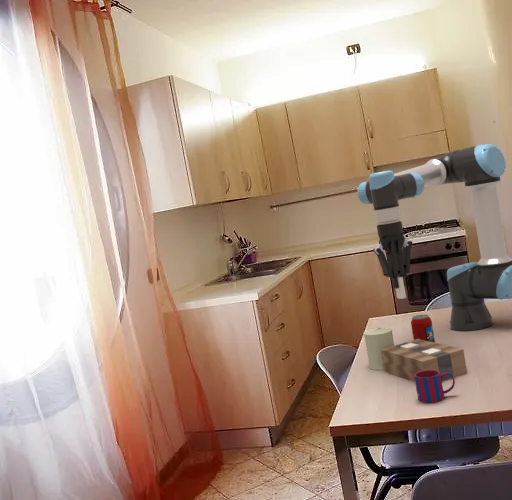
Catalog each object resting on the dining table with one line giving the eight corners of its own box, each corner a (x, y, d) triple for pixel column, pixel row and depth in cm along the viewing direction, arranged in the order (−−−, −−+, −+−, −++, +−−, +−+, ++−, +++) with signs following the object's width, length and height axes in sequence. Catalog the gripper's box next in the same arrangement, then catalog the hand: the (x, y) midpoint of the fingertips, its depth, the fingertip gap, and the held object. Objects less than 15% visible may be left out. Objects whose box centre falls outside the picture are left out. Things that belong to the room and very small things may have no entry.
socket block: (384, 371, 194) (380, 349, 194) (421, 360, 199) (417, 338, 198) (426, 385, 173) (422, 361, 173) (467, 372, 178) (463, 349, 178)
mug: (418, 395, 167) (413, 371, 167) (456, 392, 165) (452, 367, 164) (418, 404, 161) (414, 378, 160) (458, 400, 158) (454, 374, 158)
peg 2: (436, 371, 184) (432, 348, 183) (445, 373, 180) (441, 350, 179) (425, 374, 182) (421, 351, 182) (433, 377, 178) (429, 353, 178)
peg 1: (414, 364, 194) (410, 342, 193) (422, 366, 190) (418, 344, 190) (403, 367, 192) (400, 346, 192) (411, 370, 189) (407, 347, 188)
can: (399, 360, 203) (393, 324, 202) (396, 368, 195) (389, 331, 194) (371, 362, 206) (365, 327, 206) (367, 371, 198) (360, 334, 197)
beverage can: (437, 352, 204) (431, 317, 203) (416, 355, 205) (410, 320, 204) (435, 347, 210) (429, 313, 210) (415, 349, 212) (409, 315, 211)
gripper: (399, 218, 194) (412, 292, 196) (364, 226, 190) (376, 301, 191) (413, 217, 187) (426, 294, 189) (377, 225, 183) (390, 303, 184)
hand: (401, 297), depth 190 cm, fingers closed
